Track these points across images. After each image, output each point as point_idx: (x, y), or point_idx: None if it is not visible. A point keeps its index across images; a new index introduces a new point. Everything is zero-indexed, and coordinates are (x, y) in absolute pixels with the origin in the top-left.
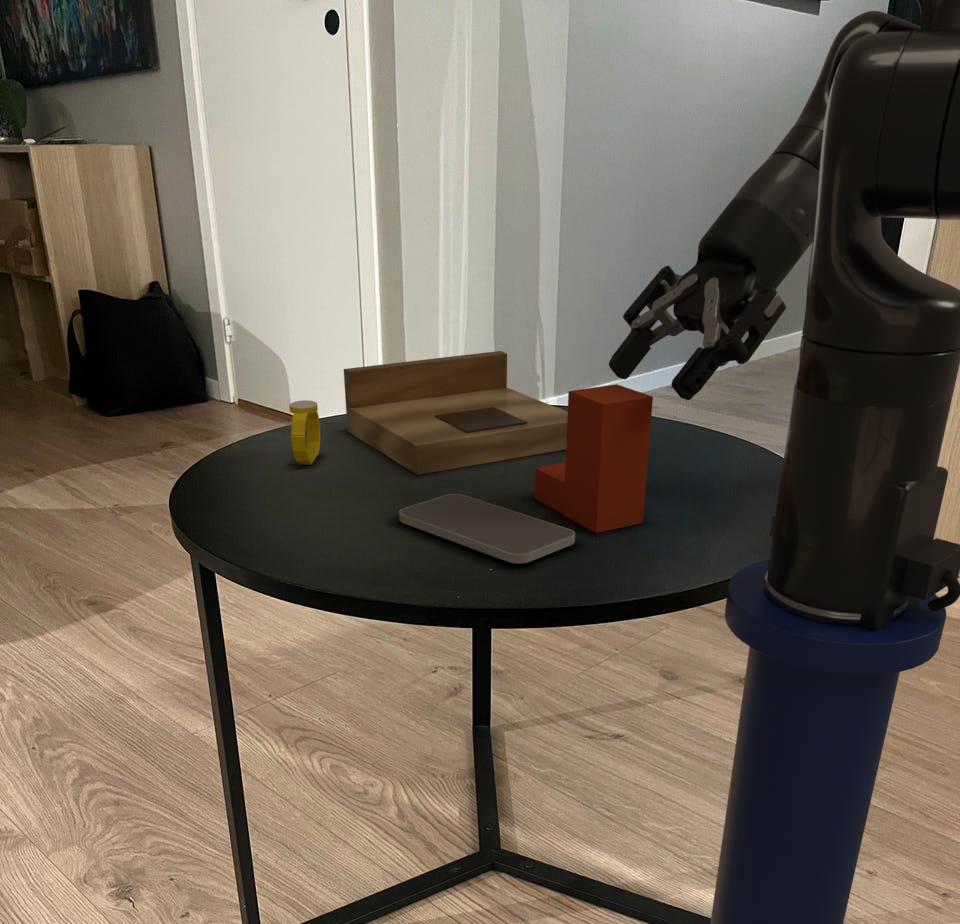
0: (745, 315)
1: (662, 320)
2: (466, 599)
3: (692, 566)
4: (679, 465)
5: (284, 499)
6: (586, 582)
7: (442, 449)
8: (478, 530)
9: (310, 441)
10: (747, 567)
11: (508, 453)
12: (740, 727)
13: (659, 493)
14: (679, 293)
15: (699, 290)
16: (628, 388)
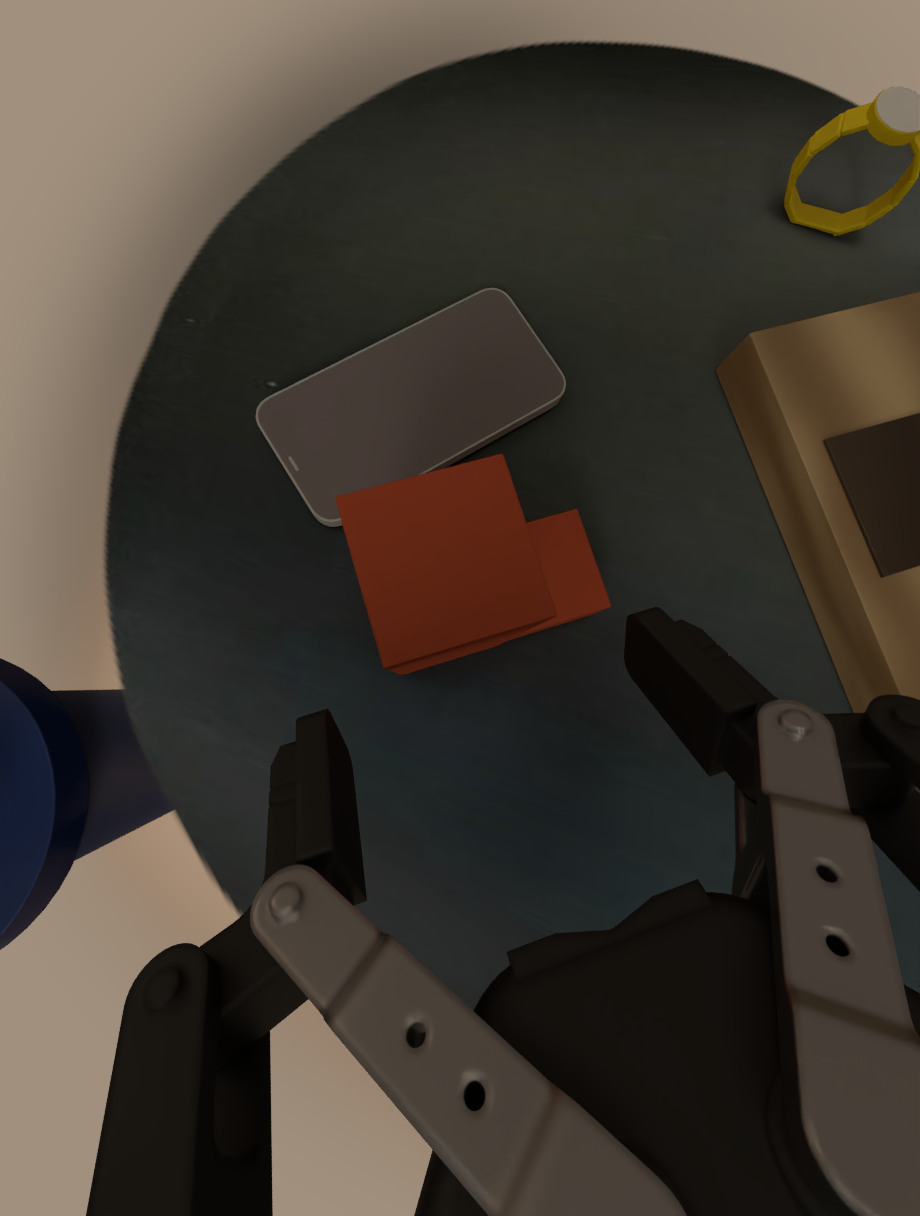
0: (143, 1205)
1: (752, 837)
2: (178, 328)
3: (193, 685)
4: (709, 874)
5: (627, 167)
6: (184, 501)
7: (758, 392)
8: (378, 379)
9: (867, 209)
10: (32, 729)
11: (792, 539)
12: (91, 692)
13: (548, 765)
14: (799, 975)
15: (770, 1140)
16: (497, 630)
